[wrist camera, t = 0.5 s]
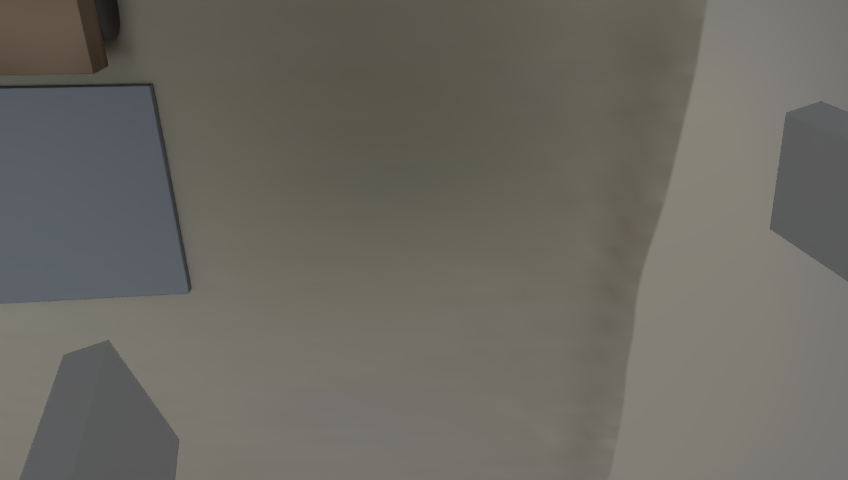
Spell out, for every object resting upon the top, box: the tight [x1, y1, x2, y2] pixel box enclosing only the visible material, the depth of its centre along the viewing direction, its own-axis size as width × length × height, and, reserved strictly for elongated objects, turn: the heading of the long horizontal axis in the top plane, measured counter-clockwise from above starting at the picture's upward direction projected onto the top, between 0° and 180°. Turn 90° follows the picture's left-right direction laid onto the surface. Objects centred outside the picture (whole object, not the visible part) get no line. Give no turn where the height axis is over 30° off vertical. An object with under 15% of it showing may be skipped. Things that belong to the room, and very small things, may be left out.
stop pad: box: [0, 84, 191, 304], centre depth 35 cm, size 13×12×1 cm
